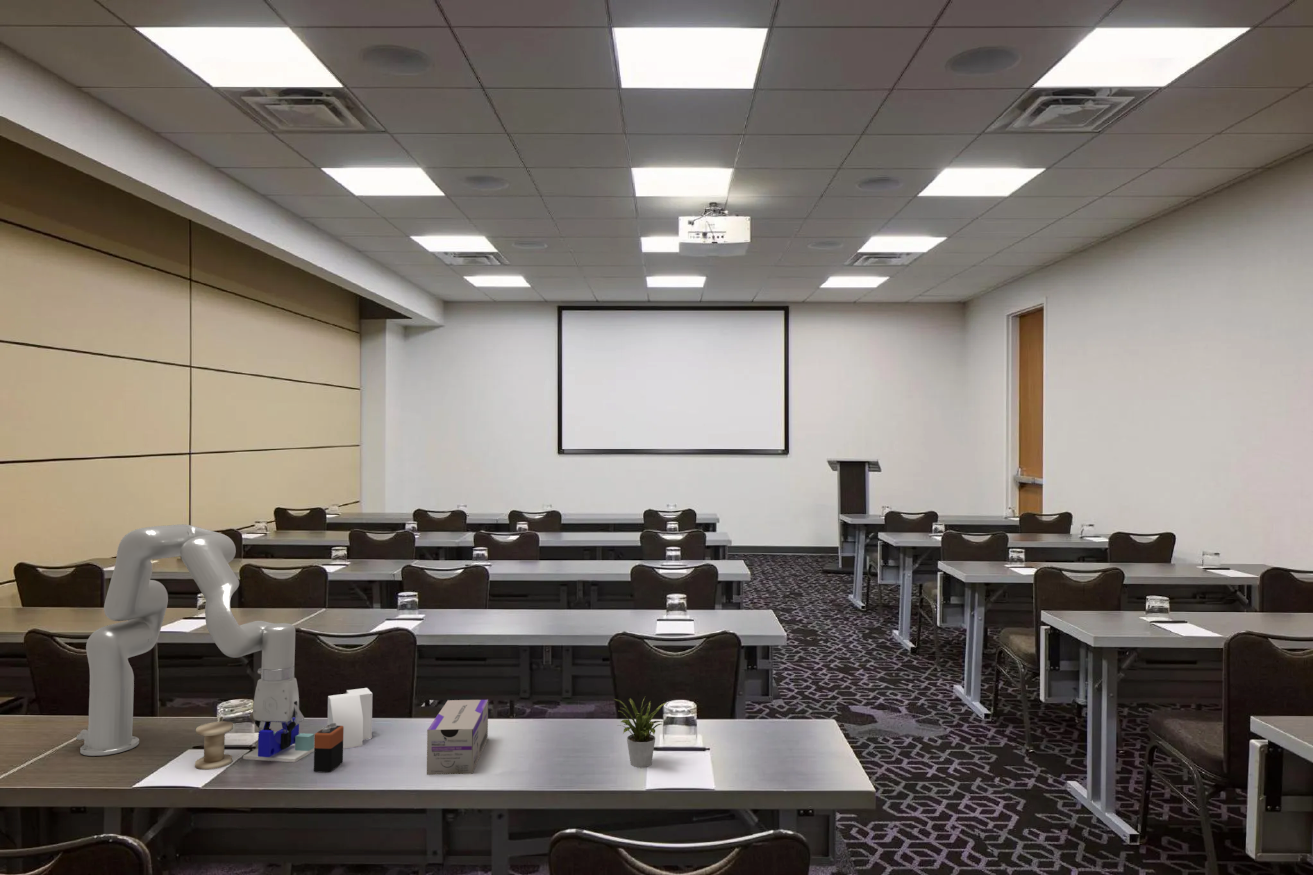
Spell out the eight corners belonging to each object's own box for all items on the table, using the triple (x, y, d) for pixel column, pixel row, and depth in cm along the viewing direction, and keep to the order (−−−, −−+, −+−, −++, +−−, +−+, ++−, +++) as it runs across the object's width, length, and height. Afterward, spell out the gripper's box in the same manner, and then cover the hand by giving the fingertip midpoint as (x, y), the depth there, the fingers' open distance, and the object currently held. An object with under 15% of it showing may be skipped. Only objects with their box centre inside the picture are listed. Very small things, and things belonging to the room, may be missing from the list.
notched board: (243, 759, 201) (243, 741, 201) (268, 745, 211) (268, 728, 211) (295, 762, 199) (295, 744, 199) (317, 748, 209) (318, 731, 209)
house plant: (597, 769, 195) (597, 700, 196) (620, 750, 208) (620, 686, 209) (651, 777, 190) (652, 706, 191) (672, 758, 203) (672, 692, 203)
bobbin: (187, 768, 195) (188, 730, 195) (210, 757, 202) (211, 720, 203) (217, 770, 193) (218, 732, 194) (239, 758, 201) (240, 722, 202)
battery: (312, 772, 192) (313, 729, 193) (326, 762, 199) (327, 721, 200) (330, 772, 192) (331, 730, 193) (343, 762, 199) (344, 721, 199)
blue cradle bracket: (282, 739, 210) (283, 716, 210) (298, 741, 209) (299, 717, 209) (252, 756, 198) (253, 731, 198) (268, 757, 197) (269, 732, 197)
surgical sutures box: (472, 774, 192) (472, 728, 192) (426, 775, 191) (427, 729, 192) (487, 739, 217) (488, 699, 217) (447, 740, 216) (447, 700, 217)
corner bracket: (366, 731, 223) (366, 687, 223) (375, 743, 213) (376, 697, 214) (324, 738, 217) (325, 693, 218) (332, 750, 208) (333, 703, 208)
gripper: (237, 675, 202) (235, 750, 201) (300, 679, 199) (298, 754, 198) (256, 668, 209) (254, 740, 208) (317, 671, 207) (315, 744, 206)
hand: (275, 746), depth 203 cm, fingers closed on blue cradle bracket, 4 cm apart
